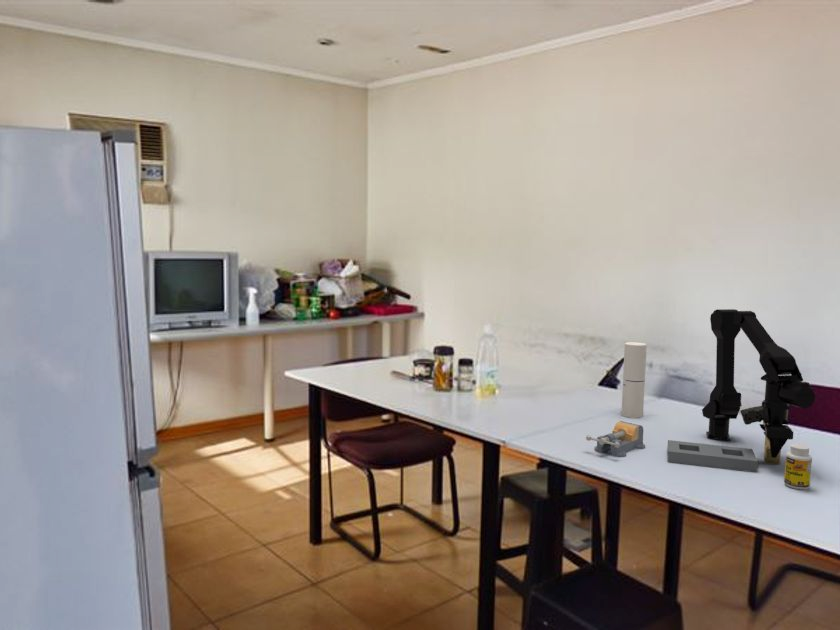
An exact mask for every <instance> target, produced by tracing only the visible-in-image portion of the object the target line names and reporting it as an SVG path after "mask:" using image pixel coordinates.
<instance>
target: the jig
mask: <svg viewBox="0 0 840 630" xmlns="http://www.w3.org/2000/svg"><path fill="white" fill-rule="evenodd" d="M666 450H667V451H666V452H667V462H668V463H674V464H683V465H691V466H692V465H693V466H701V467H709V468H715V469H716V468H718V469H724V470H725V469H727V470H734V471H735V470H736V471H741V472H742V471H745V472H753V473H757V472H758V463H759V462H758V459H757V457H756V454H755V453H754V450H753V449H752V448H749V447H748V448H747V447H738V446H737V447H736V446H728V445H720V444H719V445H718V444H709V443H701V442H700V443H699V442H698V443H697V442H690V441H681V440H679V441H678V440H673V439H672V440H670V439H668V440H667V449H666Z"/></svg>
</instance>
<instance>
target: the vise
mask: <svg viewBox="0 0 840 630" xmlns="http://www.w3.org/2000/svg"><path fill="white" fill-rule="evenodd" d="M611 432H612V433H611ZM611 432H610V433H607V434H604V435H600V436H597V438H594V437H592V436H591V435H590V434H588V435H586V436H585V439H586V441H588V442H589V441H595V442H596V446H594V451H595V452H598V453H604V452H607V451H609V450H610V451H611V456H613V457H615V458H616V457H617V458H625V457H627V453H629V452H631V451H634V450H636V449H637V450H644V449H646V444H645V443H644V426H642V425H641V424H637V423H631V422H627V421H623V420H620V421H617V422H616V423H615V425H614V428H613V429H612V431H611Z"/></svg>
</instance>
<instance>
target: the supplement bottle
mask: <svg viewBox="0 0 840 630" xmlns="http://www.w3.org/2000/svg"><path fill="white" fill-rule="evenodd" d="M789 450H790V451H788V452H786V454H785V455H786V457H785V464H784V465H785V468H784V478H783V479H784V480H783V483H784V485H785V486H787V487H789V488H790V489H796V490H808V489H809V488H810V485H811V483H810V482H811V475H812V474H811V473H812V463H813V462H812V461H813V457H812V455H810V447H809V446H807V445H804V444H800V443H799V444H797V443H792V444H790V449H789Z"/></svg>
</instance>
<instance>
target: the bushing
mask: <svg viewBox="0 0 840 630" xmlns="http://www.w3.org/2000/svg"><path fill="white" fill-rule="evenodd" d="M764 436H765V435H764ZM781 453H782V449H781V450H780V452H779V453H778V455H777V457H776V458H773V457H771V451H770V443H769V438H768V437H766V436H765V438H764V451H763V462H764V463H765V464H768V465H774V466H776V465H781V455H782V454H781Z"/></svg>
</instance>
